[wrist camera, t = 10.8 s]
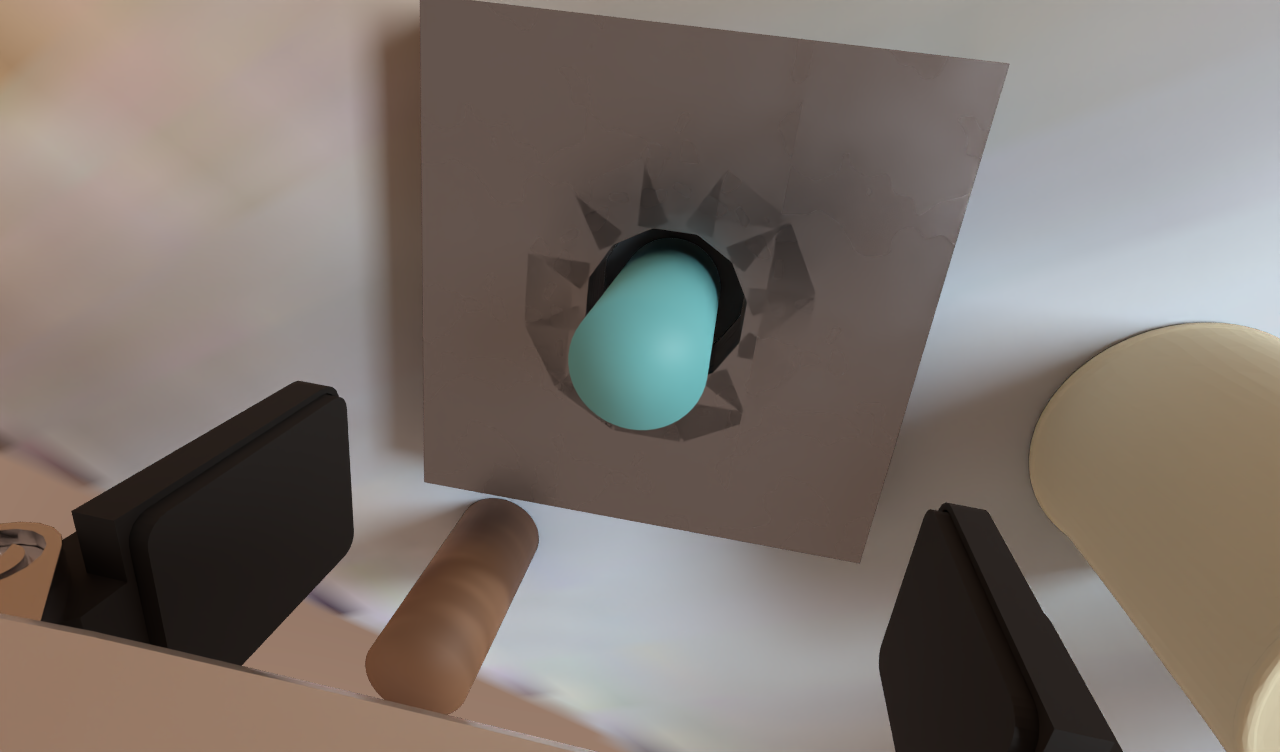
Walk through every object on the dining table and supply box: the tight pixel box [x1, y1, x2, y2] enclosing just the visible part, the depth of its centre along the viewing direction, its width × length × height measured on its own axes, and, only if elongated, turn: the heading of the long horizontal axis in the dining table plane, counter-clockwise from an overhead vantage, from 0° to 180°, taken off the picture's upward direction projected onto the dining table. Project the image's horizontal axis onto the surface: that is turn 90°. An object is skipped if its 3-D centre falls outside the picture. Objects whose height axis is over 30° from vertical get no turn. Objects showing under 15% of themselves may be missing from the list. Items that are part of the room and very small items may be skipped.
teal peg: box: [568, 238, 720, 430], centre depth 20 cm, size 4×4×8 cm
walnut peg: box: [365, 498, 539, 715], centre depth 26 cm, size 4×4×8 cm
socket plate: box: [420, 0, 1009, 563], centre depth 23 cm, size 16×16×3 cm
